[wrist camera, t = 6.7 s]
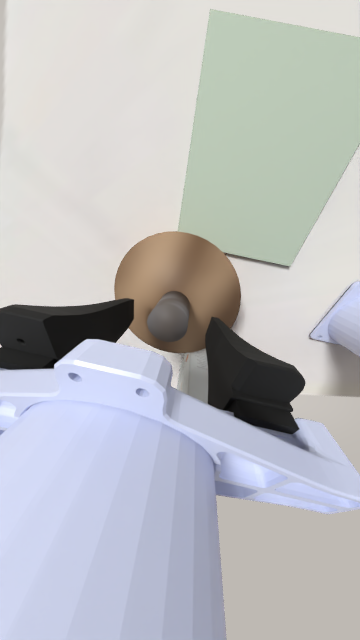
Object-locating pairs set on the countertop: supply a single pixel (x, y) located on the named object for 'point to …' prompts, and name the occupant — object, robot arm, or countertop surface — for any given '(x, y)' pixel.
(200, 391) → the small box
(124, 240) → the countertop surface
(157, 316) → the lid
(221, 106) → the mat
